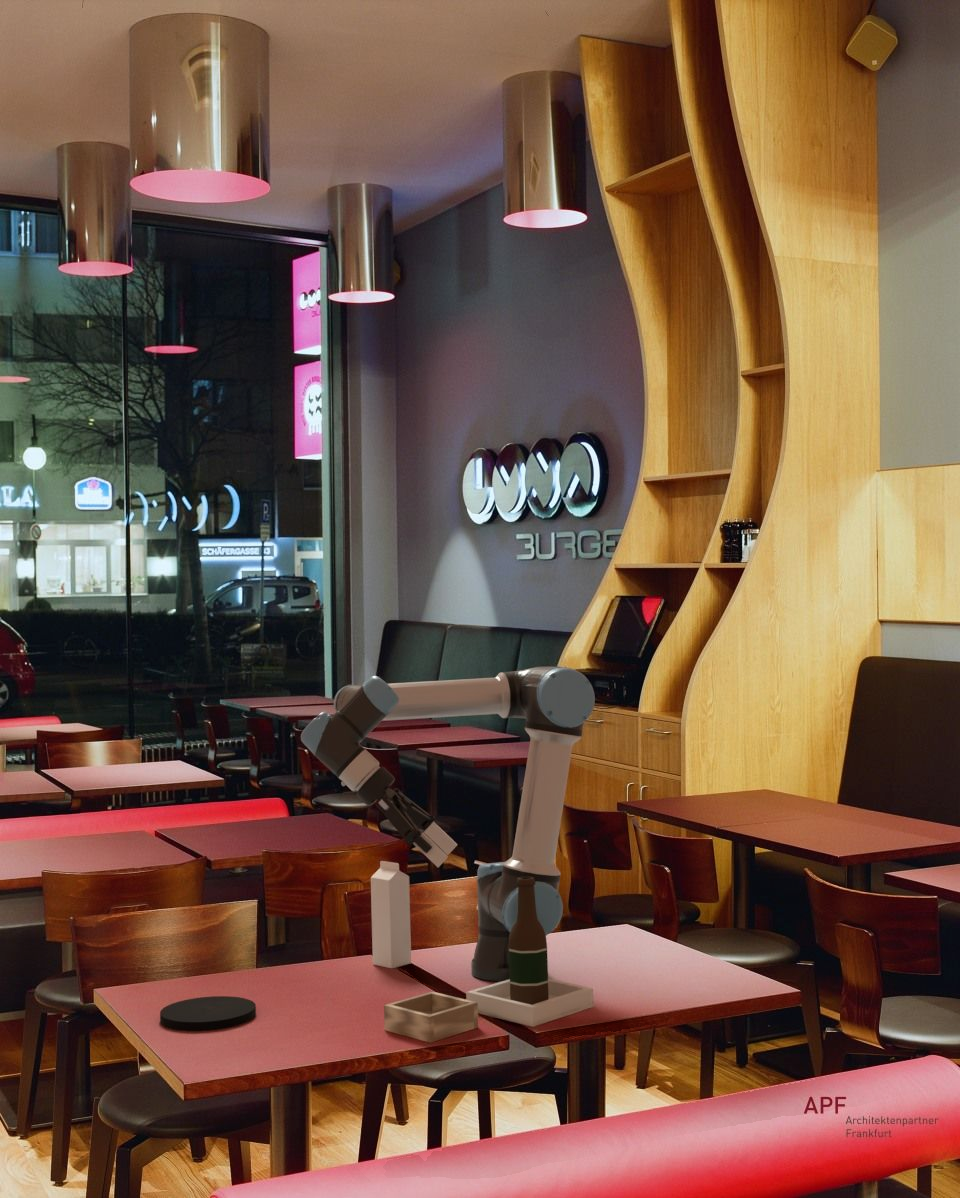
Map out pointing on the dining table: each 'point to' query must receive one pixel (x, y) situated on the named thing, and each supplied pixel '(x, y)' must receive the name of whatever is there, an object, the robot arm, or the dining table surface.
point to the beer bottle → (528, 949)
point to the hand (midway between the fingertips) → (448, 856)
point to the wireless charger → (207, 1013)
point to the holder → (431, 1016)
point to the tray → (558, 1005)
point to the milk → (390, 916)
